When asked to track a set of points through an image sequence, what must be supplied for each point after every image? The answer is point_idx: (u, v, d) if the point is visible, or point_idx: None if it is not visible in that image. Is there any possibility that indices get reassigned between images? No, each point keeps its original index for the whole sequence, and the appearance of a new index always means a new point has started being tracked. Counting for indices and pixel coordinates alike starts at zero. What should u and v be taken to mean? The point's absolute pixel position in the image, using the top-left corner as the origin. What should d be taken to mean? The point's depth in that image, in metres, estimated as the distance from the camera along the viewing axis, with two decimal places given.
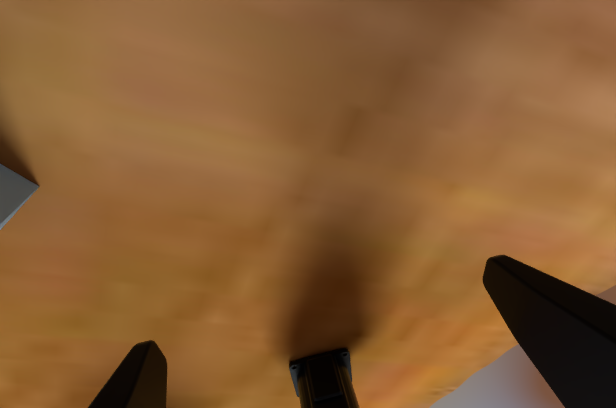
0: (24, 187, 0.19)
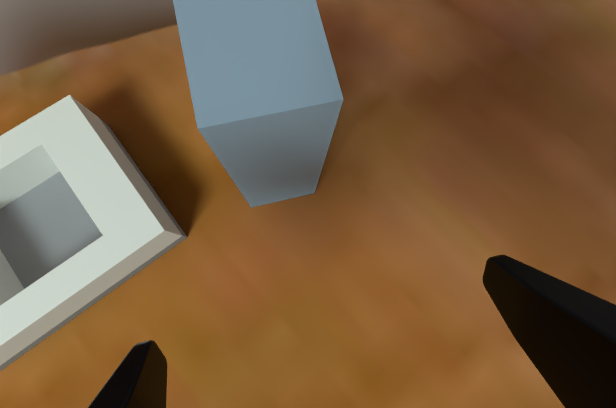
0: None
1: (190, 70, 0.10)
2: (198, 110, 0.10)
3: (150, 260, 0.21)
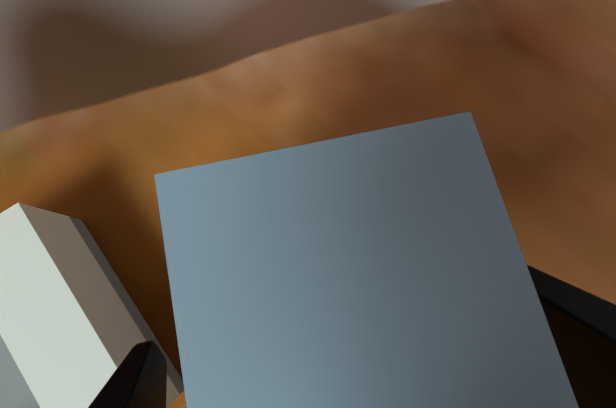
0: None
1: (193, 380, 0.04)
2: None
3: None
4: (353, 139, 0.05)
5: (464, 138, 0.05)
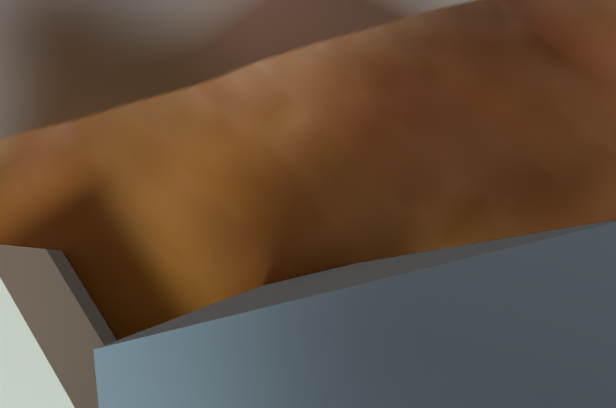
0: None
1: None
2: None
3: None
4: (452, 271, 0.03)
5: None
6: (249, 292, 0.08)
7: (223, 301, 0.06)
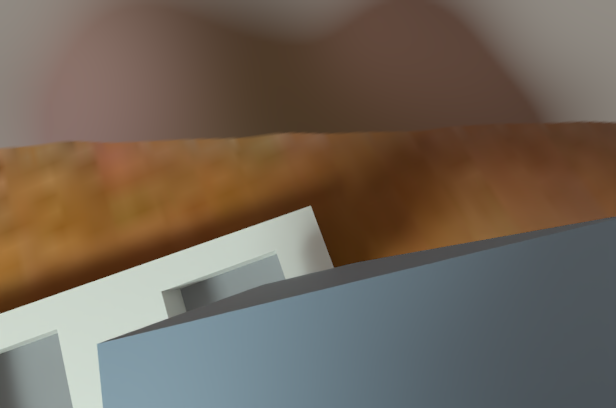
0: None
1: None
2: None
3: None
4: (455, 266, 0.03)
5: None
6: (250, 291, 0.08)
7: (224, 299, 0.06)
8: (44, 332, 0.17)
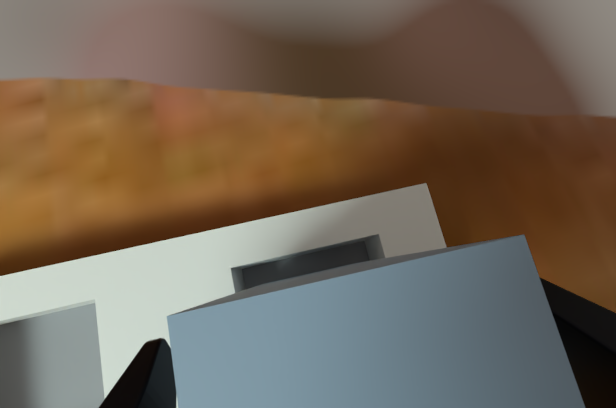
0: None
1: None
2: None
3: None
4: (393, 270, 0.04)
5: (518, 269, 0.04)
6: (255, 287, 0.09)
7: (235, 293, 0.07)
8: (78, 301, 0.13)
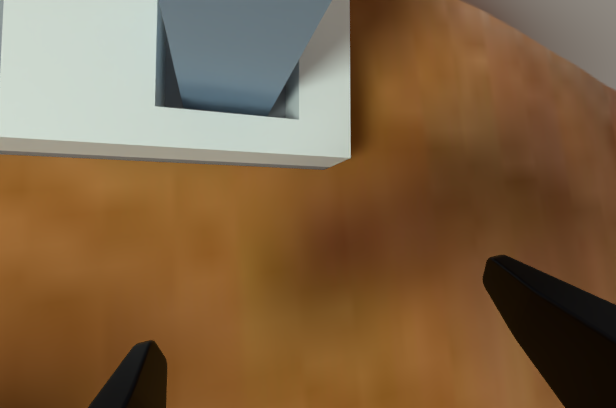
0: None
1: None
2: None
3: (287, 166, 0.19)
4: None
5: None
6: None
7: None
8: None
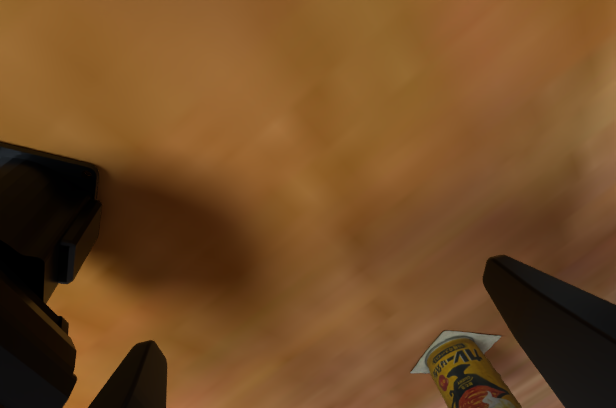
0: None
1: None
2: None
3: None
4: None
5: None
6: None
7: None
8: None
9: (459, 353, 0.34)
